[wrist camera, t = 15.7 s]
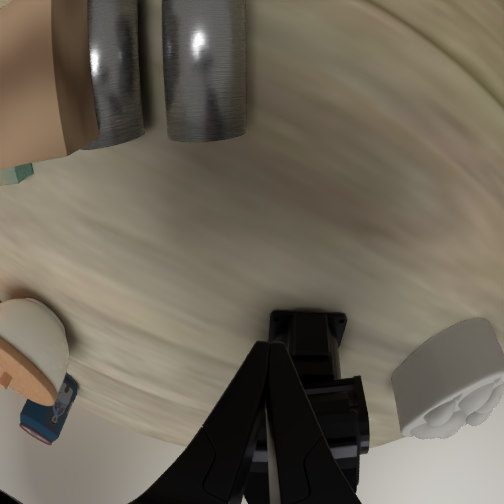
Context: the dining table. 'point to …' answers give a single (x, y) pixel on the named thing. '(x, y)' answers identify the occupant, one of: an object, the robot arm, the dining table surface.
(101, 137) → the roller bed
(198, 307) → the dining table surface
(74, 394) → the soda can
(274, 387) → the robot arm
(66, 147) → the slab
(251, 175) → the dining table surface
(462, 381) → the lumpy-topped squat cylinder
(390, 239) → the dining table surface
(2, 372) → the lidded bowl
